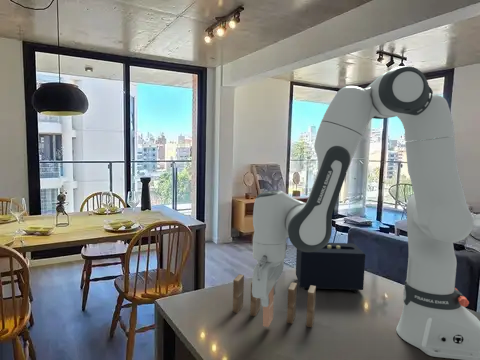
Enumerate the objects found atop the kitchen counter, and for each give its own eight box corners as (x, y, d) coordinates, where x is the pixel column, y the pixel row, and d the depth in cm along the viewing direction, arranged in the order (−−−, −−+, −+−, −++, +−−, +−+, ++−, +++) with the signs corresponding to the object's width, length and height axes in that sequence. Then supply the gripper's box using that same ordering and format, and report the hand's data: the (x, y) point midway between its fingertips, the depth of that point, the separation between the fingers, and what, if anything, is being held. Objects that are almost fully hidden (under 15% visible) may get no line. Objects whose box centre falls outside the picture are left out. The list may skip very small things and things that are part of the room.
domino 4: (295, 315, 102) (297, 283, 101) (292, 323, 98) (293, 289, 97) (290, 314, 103) (291, 282, 102) (286, 322, 98) (288, 288, 97)
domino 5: (314, 319, 101) (316, 286, 100) (312, 327, 96) (313, 293, 95) (308, 317, 101) (310, 285, 100) (306, 326, 96) (307, 292, 95)
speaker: (352, 279, 131) (354, 241, 129) (363, 294, 118) (365, 252, 116) (295, 277, 132) (296, 239, 130) (299, 292, 119) (301, 249, 117)
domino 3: (273, 318, 96) (273, 283, 95) (268, 327, 92) (269, 290, 91) (267, 317, 97) (268, 282, 96) (262, 325, 92) (263, 290, 91)
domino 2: (260, 308, 106) (261, 277, 105) (255, 316, 101) (256, 283, 100) (255, 307, 107) (255, 276, 105) (250, 315, 102) (250, 282, 101)
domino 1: (243, 305, 108) (244, 274, 107) (237, 313, 103) (238, 280, 102) (238, 304, 108) (239, 274, 107) (232, 312, 104) (233, 280, 103)
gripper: (271, 264, 81) (270, 320, 83) (288, 242, 101) (287, 287, 102) (245, 261, 83) (245, 316, 85) (267, 239, 103) (266, 284, 104)
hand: (268, 300), depth 94 cm, fingers closed on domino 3, 5 cm apart
